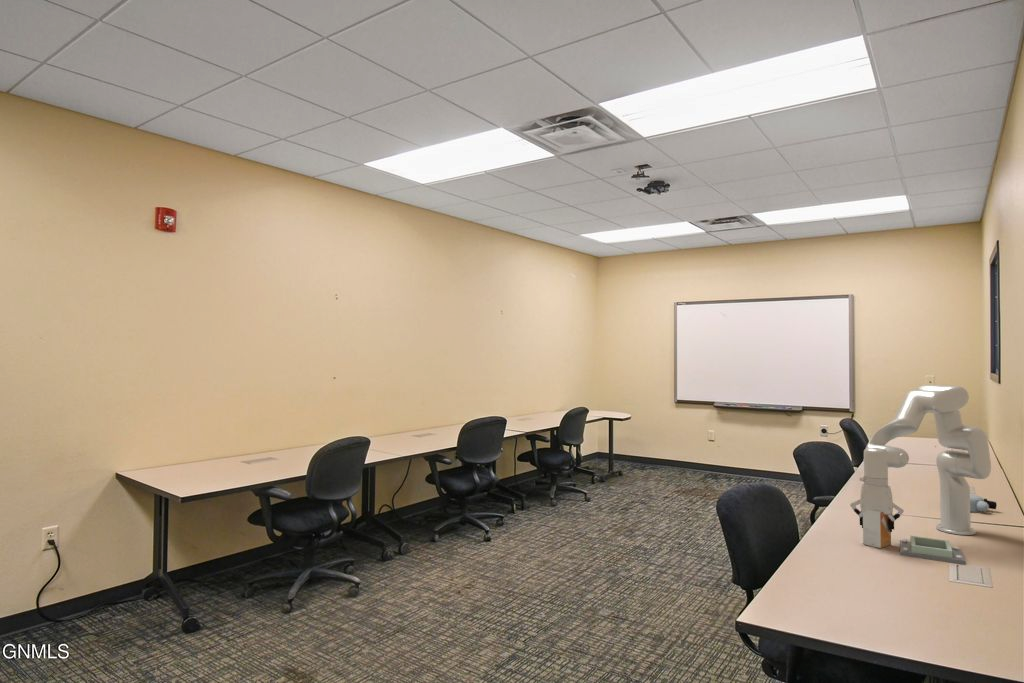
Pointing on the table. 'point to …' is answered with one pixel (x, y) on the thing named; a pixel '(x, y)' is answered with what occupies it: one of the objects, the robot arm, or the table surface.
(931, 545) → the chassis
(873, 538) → the small box
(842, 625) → the table surface
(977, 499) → the figurine
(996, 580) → the table surface
